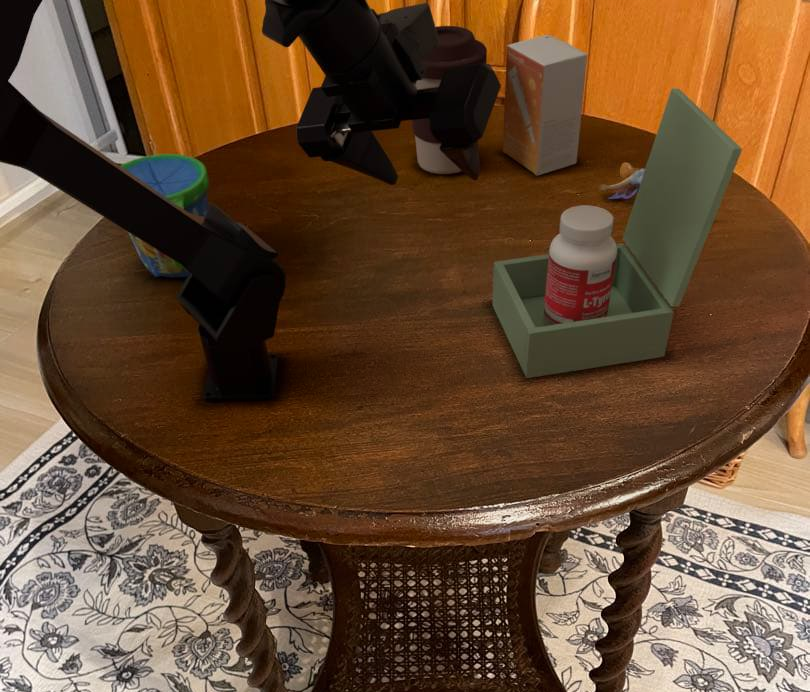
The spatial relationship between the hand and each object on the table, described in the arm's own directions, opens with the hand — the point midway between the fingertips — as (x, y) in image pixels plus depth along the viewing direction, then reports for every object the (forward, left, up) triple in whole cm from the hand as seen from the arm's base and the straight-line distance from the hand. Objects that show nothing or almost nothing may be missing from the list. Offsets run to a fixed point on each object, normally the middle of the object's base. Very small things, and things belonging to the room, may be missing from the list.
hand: (435, 178), depth 81 cm
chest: (-7, -13, -13) cm, 20 cm away
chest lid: (-6, -21, 0) cm, 22 cm away
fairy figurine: (+17, -26, -13) cm, 34 cm away
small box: (+31, -14, -13) cm, 36 cm away
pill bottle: (-7, -13, -12) cm, 19 cm away
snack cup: (+9, +29, -13) cm, 33 cm away
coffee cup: (+31, -2, -13) cm, 34 cm away
